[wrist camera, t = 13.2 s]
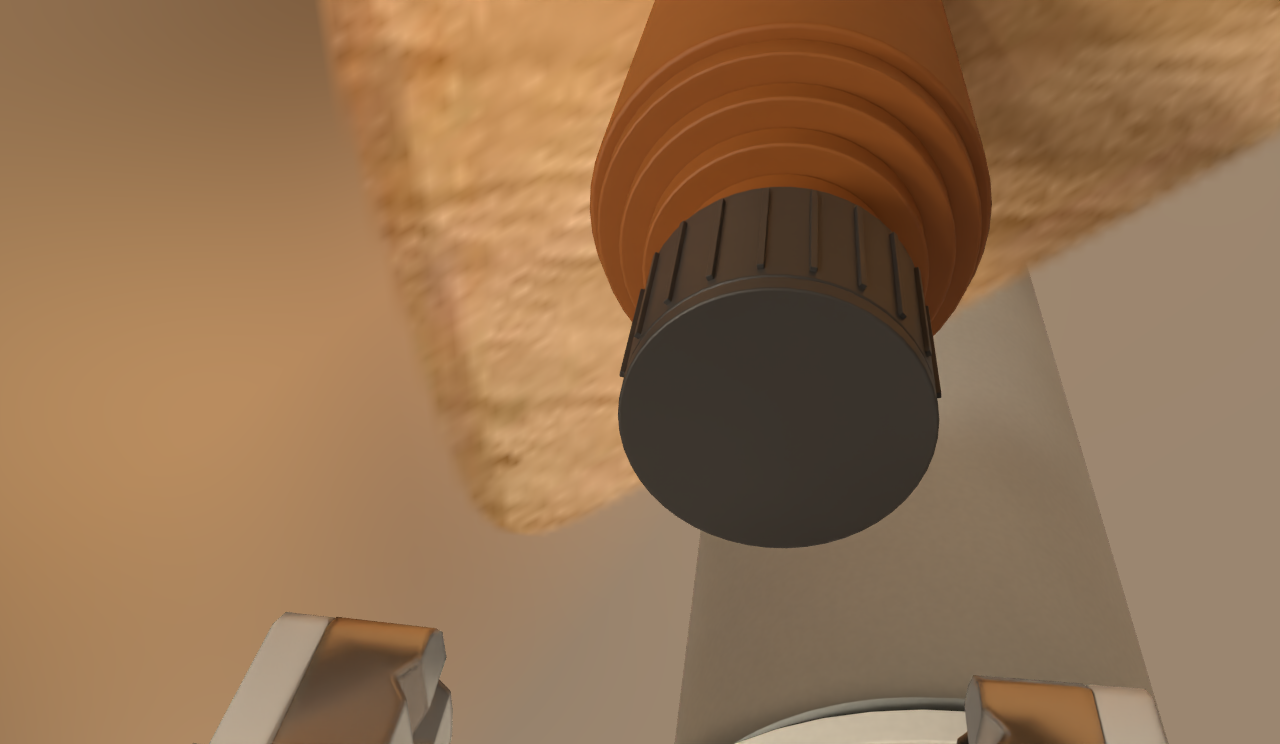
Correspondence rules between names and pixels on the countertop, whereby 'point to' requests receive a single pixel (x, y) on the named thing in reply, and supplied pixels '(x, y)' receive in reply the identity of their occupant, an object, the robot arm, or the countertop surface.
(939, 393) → the cap
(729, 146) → the bottle
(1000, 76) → the countertop surface
